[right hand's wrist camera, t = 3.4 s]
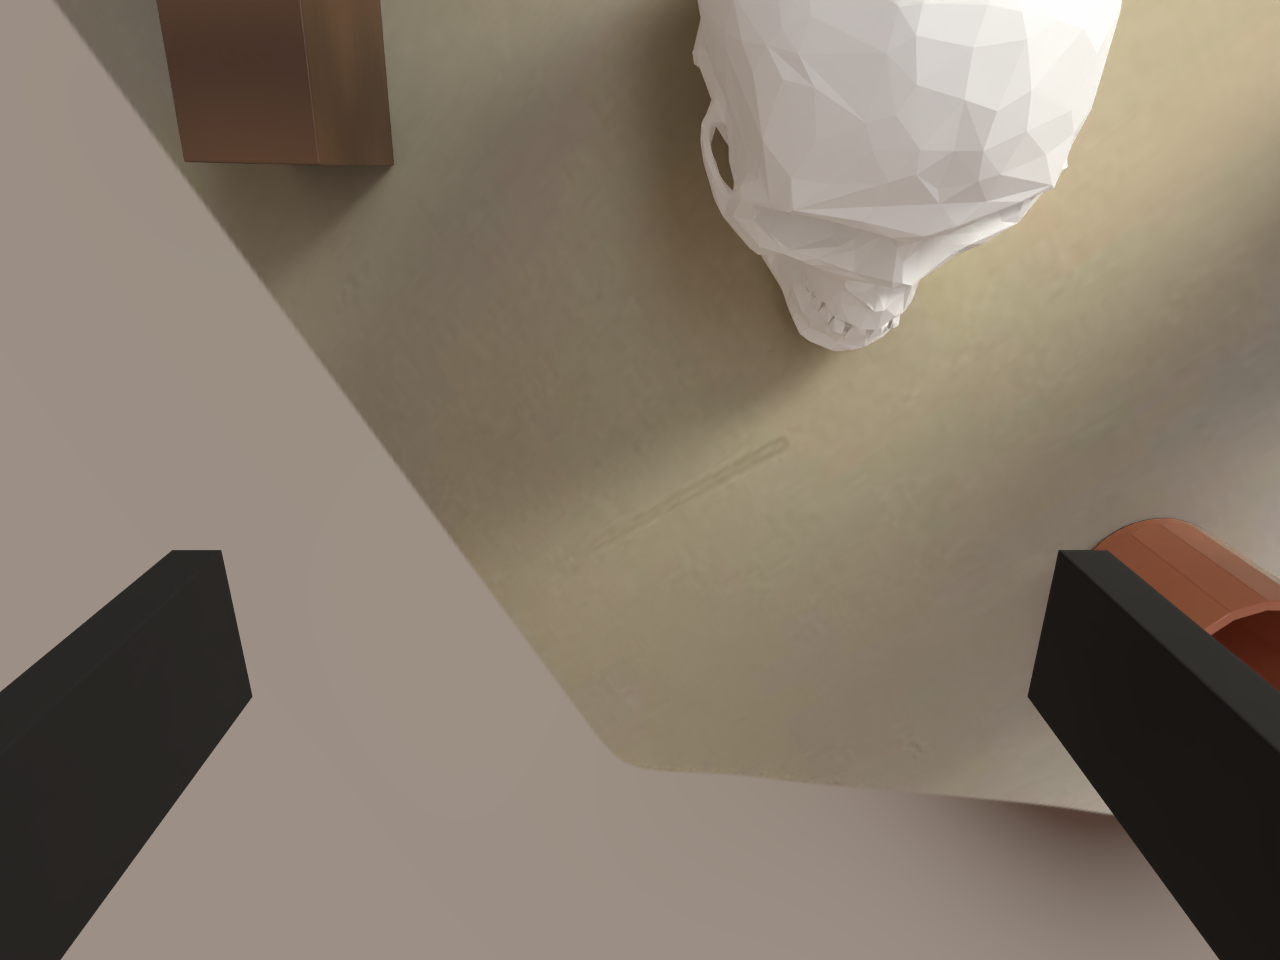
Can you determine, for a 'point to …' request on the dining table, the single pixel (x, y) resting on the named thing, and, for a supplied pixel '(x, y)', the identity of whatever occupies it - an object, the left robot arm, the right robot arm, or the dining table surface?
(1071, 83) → the skull
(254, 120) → the walnut box
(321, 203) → the dining table surface
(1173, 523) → the terracotta cup
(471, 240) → the dining table surface
